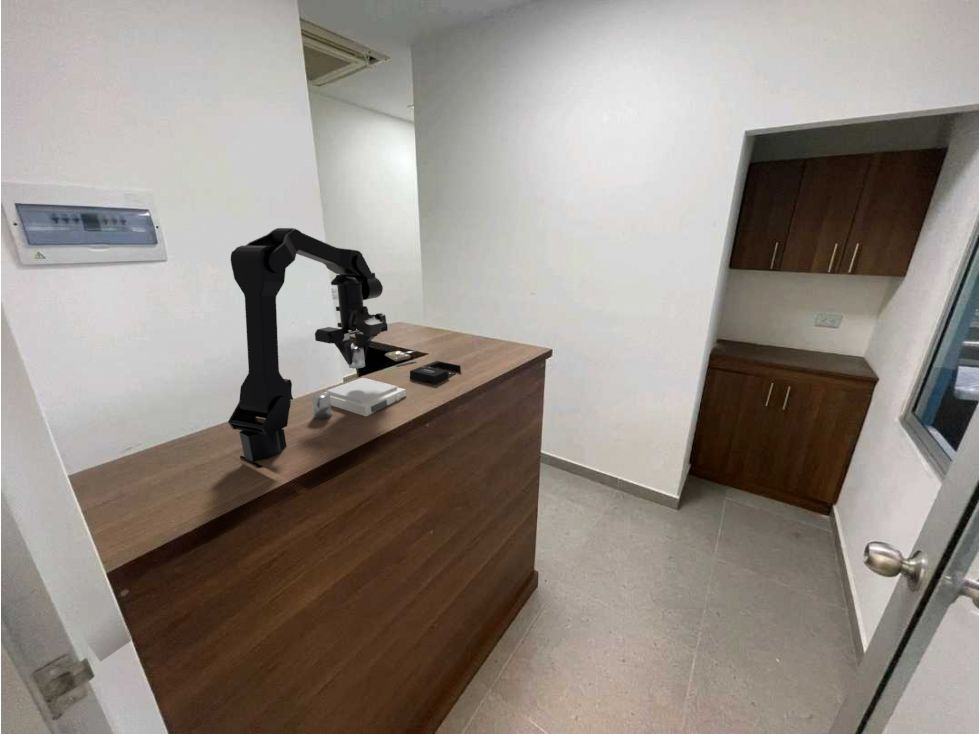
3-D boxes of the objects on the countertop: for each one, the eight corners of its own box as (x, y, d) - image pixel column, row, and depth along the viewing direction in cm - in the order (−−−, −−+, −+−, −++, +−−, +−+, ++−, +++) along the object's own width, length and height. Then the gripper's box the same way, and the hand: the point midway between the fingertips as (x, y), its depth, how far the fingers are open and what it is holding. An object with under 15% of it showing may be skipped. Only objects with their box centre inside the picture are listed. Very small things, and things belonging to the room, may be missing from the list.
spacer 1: (321, 420, 88) (319, 400, 87) (310, 416, 90) (307, 396, 89) (335, 414, 92) (333, 394, 90) (324, 410, 94) (322, 391, 92)
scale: (367, 416, 91) (366, 404, 90) (321, 402, 99) (320, 390, 98) (407, 398, 102) (406, 386, 101) (363, 386, 110) (362, 375, 109)
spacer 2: (356, 369, 97) (354, 350, 96) (345, 366, 99) (343, 348, 98) (368, 365, 101) (366, 347, 99) (357, 363, 103) (356, 345, 101)
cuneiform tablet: (396, 355, 126) (382, 348, 135) (398, 368, 127) (383, 360, 136) (416, 351, 130) (400, 344, 139) (417, 363, 131) (401, 356, 140)
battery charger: (434, 389, 110) (434, 376, 108) (409, 383, 114) (409, 370, 113) (461, 377, 120) (460, 365, 119) (437, 372, 125) (436, 360, 124)
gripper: (342, 310, 84) (348, 377, 88) (401, 301, 99) (404, 359, 104) (309, 305, 89) (317, 369, 94) (370, 297, 104) (374, 353, 109)
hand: (356, 362), depth 100 cm, fingers closed on spacer 2, 4 cm apart
